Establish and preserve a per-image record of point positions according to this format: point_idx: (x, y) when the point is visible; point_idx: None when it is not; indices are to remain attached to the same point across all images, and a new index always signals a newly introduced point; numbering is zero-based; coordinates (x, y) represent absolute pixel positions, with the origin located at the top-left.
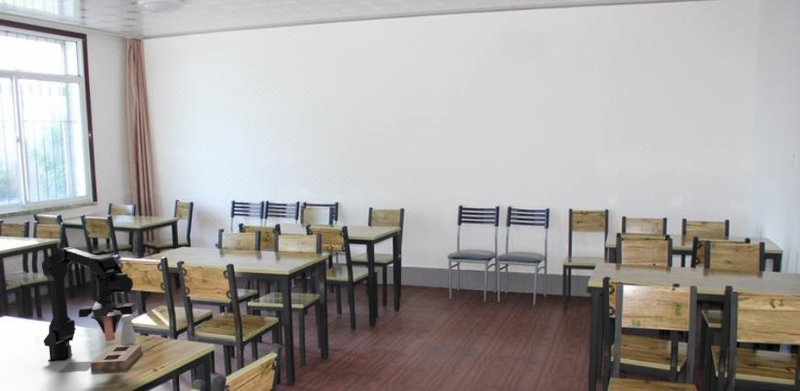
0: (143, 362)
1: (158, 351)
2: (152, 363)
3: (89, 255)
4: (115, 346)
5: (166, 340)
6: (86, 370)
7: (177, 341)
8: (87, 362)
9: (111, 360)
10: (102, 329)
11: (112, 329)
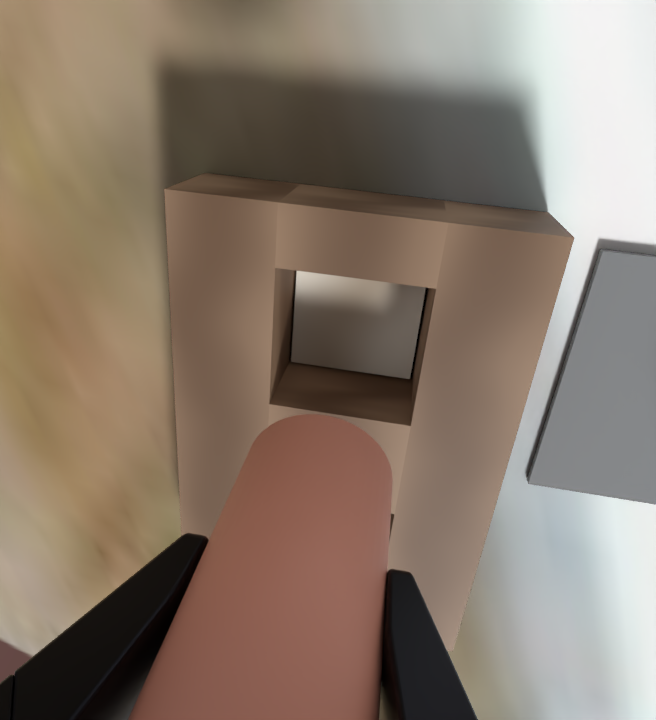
0: (115, 333)
1: (98, 529)
2: (26, 282)
3: None
4: None
5: None
6: (605, 258)
7: None
8: (615, 474)
9: (328, 242)
10: (428, 648)
11: (190, 588)
